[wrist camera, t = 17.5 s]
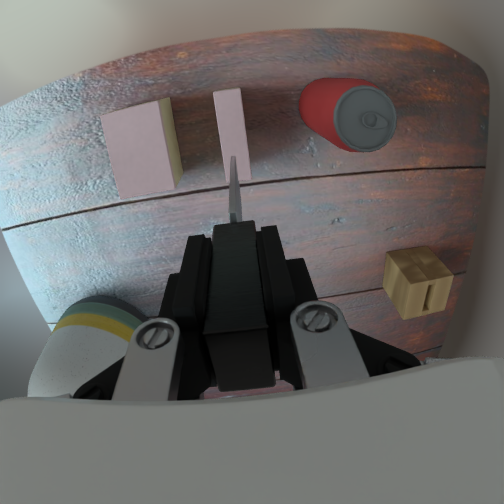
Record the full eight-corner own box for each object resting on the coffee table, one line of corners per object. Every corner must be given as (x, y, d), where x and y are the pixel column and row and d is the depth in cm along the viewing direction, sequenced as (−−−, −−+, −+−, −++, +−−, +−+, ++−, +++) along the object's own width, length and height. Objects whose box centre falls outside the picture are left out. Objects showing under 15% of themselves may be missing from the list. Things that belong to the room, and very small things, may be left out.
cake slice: (239, 87, 32) (240, 87, 26) (249, 164, 36) (252, 179, 31) (216, 90, 32) (212, 91, 26) (227, 167, 36) (226, 183, 31)
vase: (95, 363, 52) (61, 478, 31) (51, 290, 43) (-17, 413, 22) (179, 358, 51) (165, 492, 30) (144, 276, 43) (95, 431, 22)
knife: (244, 154, 21) (268, 312, 7) (250, 198, 23) (277, 395, 9) (221, 157, 21) (196, 320, 7) (227, 201, 23) (221, 401, 9)
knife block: (426, 245, 43) (454, 275, 36) (420, 278, 46) (444, 310, 39) (386, 251, 43) (410, 284, 36) (382, 285, 46) (402, 320, 39)
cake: (169, 97, 32) (157, 100, 26) (183, 172, 36) (175, 189, 31) (119, 109, 32) (99, 115, 26) (135, 181, 36) (120, 199, 31)
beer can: (347, 138, 35) (393, 165, 25) (293, 128, 34) (320, 150, 24) (357, 85, 32) (409, 91, 21) (302, 72, 31) (335, 69, 21)
